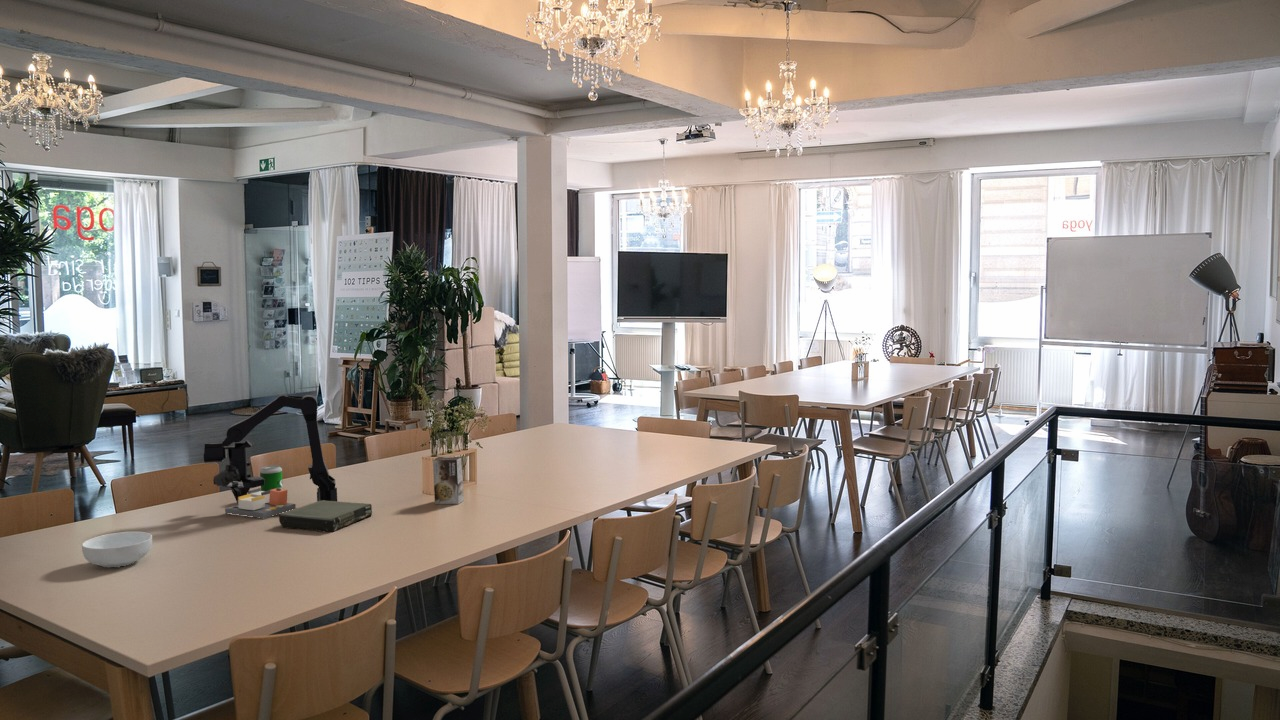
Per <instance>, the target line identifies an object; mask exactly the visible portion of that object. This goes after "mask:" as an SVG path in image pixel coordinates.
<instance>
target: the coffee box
mask: <svg viewBox="0 0 1280 720" xmlns="http://www.w3.org/2000/svg"><path fill="white" fill-rule="evenodd" d="M432 469H433V470H432V472H433V487H434V488H433V490H434V491H433V492H434V494H433V495H434V496H433V497H434V504H435V505H460V503H461V502H463V501H464V482H463V481H464V478H463V477H464V476H463V456H437V457H435V458H434V459H432Z"/></svg>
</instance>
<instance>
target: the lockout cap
mask: <svg viewBox="0 0 1280 720" xmlns="http://www.w3.org/2000/svg"><path fill="white" fill-rule="evenodd" d="M287 503H288V489H285V488H283V489H282V488H276V489H272V490H270V501H269V504H271V505H275V506H277V505H284V504H287Z"/></svg>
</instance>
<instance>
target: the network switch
mask: <svg viewBox="0 0 1280 720" xmlns="http://www.w3.org/2000/svg"><path fill="white" fill-rule="evenodd" d="M372 509H373V507H372V504H371V503H361V502H351V501H350V502H347V501H338V500H337V501H325V500H323V501H317V500H316V501H315V502H311V503H308V504H305V505H302V506H299V507H297V508H296V509H293V510H290V511H287V512H284V513H282V514H279V515H278V522H279V524H280V525H281V526H282V527H283V528H285V527H288V528H287V529H295V528H299V529H298V530H306V529H308V530H307V531H314V530H317V531H316V532H323V531H326V532H325V533H334V532H336V530H338V529H342V528H343V527H346V526H349V525H352V524H353V523H356V522H358V521H360V520H363V519H365V518H368V517H372V516H373V515H372V514H373V511H372ZM333 531H334V532H333Z"/></svg>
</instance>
